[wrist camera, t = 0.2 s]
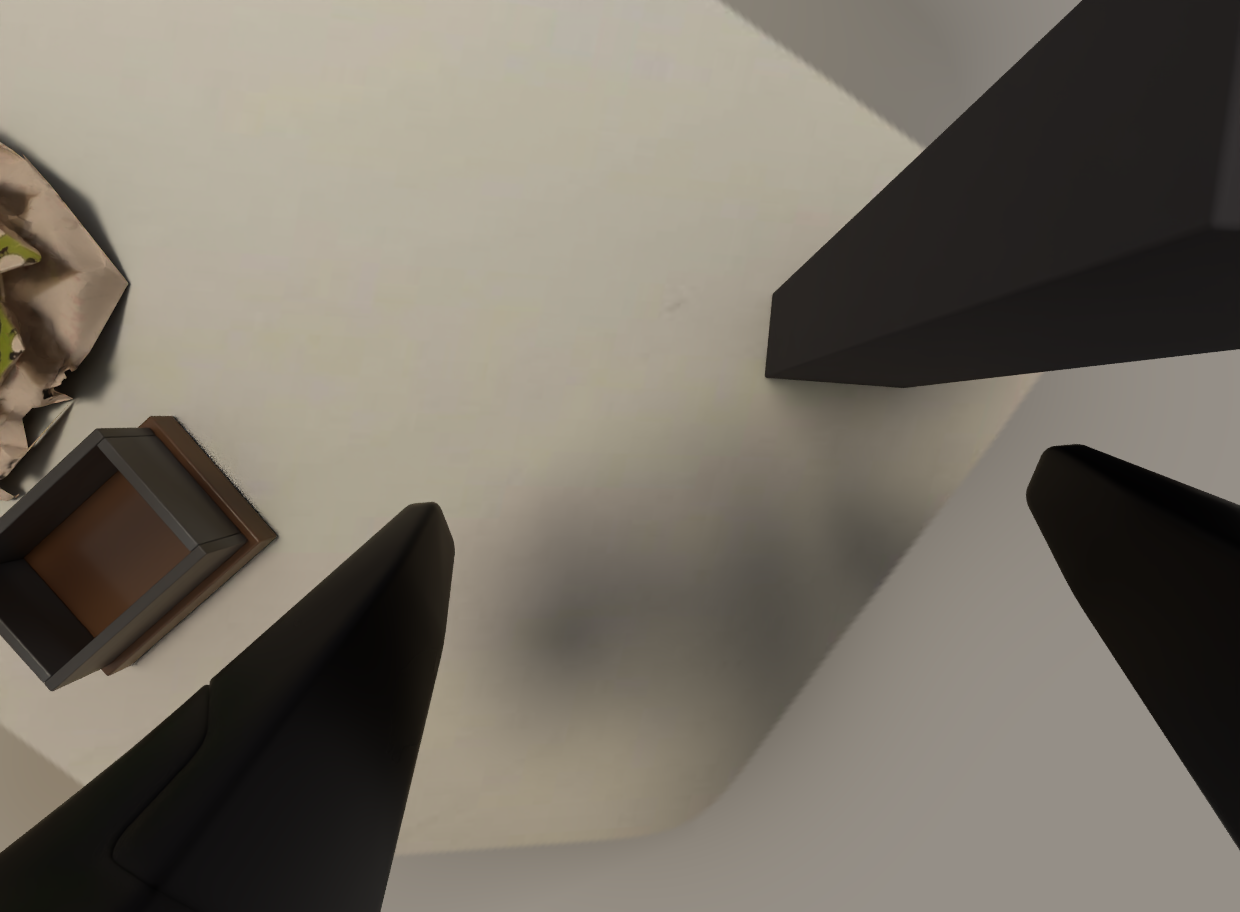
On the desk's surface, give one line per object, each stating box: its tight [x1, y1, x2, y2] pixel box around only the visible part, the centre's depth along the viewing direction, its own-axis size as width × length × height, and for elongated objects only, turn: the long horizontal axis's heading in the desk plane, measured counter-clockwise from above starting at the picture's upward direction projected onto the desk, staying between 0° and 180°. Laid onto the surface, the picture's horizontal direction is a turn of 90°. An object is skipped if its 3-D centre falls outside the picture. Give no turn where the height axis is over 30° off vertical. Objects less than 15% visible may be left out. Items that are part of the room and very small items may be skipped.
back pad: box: [765, 0, 1240, 388], centre depth 12 cm, size 3×5×16 cm, turn 85°
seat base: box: [0, 416, 276, 691], centre depth 20 cm, size 6×8×3 cm
